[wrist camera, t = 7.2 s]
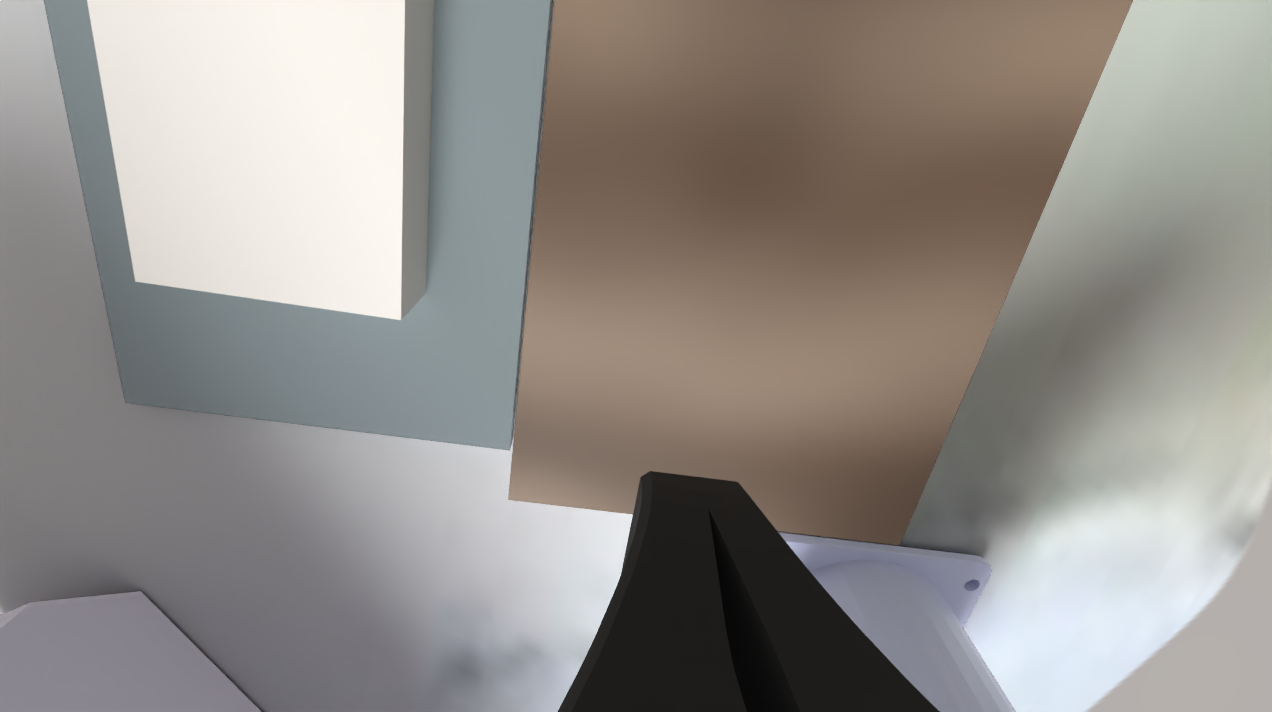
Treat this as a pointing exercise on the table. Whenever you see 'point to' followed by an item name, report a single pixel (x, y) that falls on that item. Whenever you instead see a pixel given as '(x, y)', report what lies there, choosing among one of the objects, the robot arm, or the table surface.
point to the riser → (784, 240)
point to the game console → (106, 660)
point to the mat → (340, 341)
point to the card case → (273, 146)
